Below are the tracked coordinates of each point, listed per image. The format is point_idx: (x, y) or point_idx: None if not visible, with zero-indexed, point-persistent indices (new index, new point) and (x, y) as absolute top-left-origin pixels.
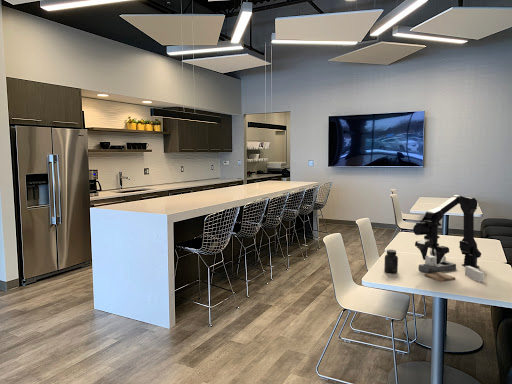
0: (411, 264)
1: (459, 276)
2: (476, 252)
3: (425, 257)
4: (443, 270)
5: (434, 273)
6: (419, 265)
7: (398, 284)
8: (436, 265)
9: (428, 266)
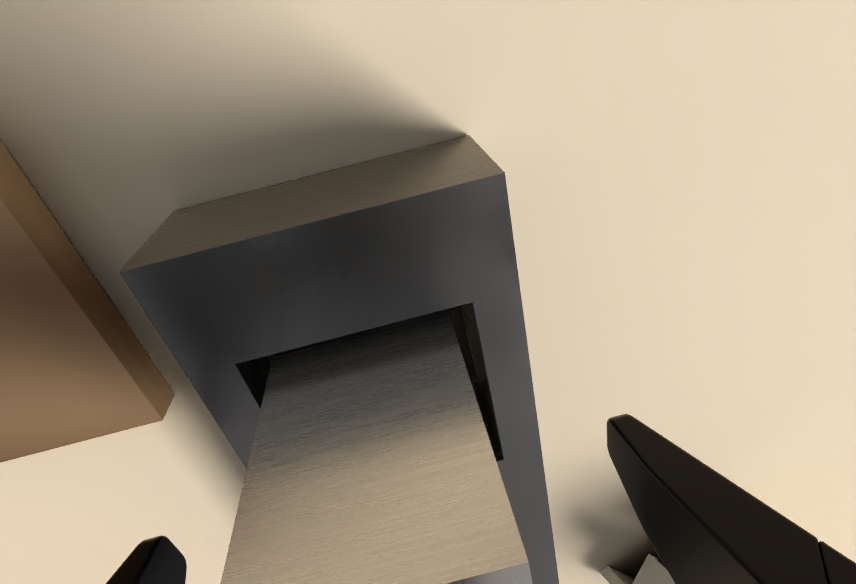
0: (838, 209)
1: (62, 571)
2: None
3: (503, 505)
4: None
5: (13, 288)
6: (472, 176)
7: None
8: None
9: (296, 338)
